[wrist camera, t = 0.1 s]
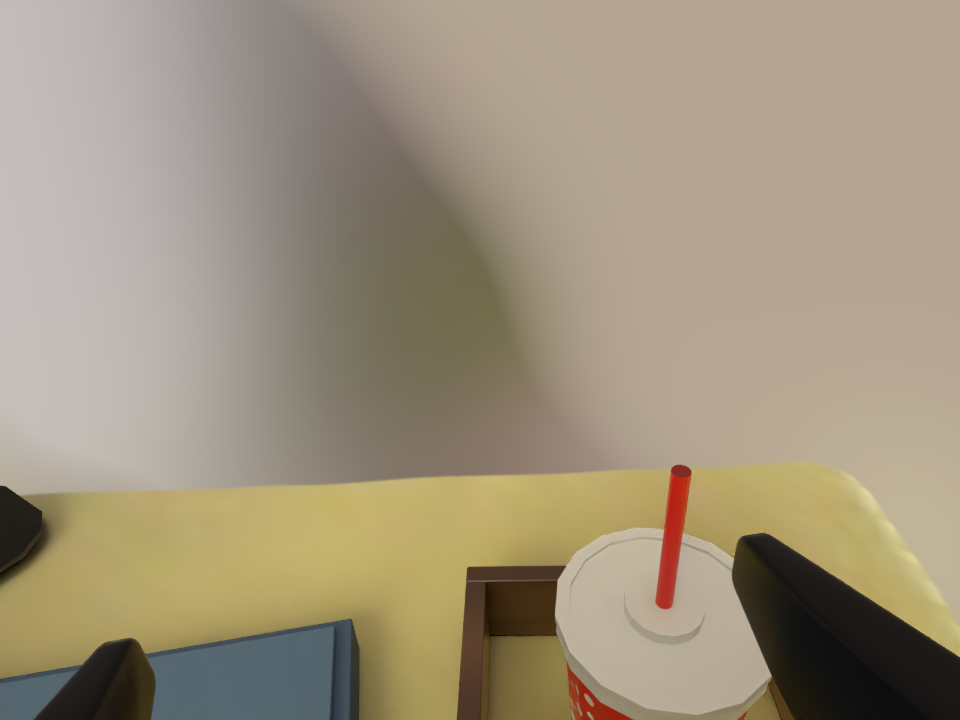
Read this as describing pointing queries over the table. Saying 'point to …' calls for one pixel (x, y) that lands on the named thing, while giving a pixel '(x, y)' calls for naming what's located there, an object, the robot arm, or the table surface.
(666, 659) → the beverage cup
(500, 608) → the open box
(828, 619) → the robot arm
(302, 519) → the table surface
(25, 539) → the gaming mouse
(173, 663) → the blue square platform
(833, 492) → the table surface
